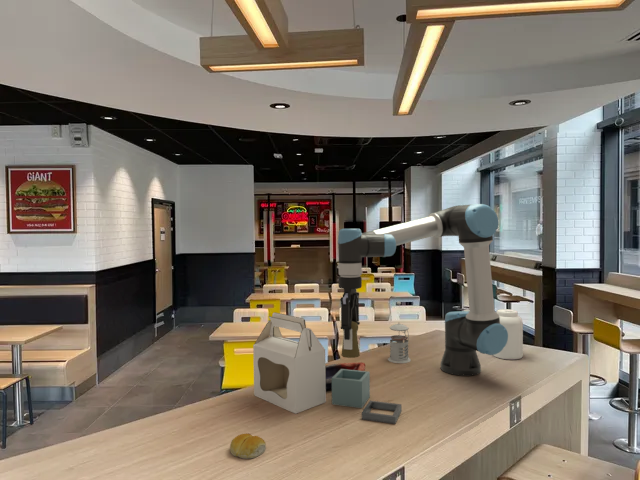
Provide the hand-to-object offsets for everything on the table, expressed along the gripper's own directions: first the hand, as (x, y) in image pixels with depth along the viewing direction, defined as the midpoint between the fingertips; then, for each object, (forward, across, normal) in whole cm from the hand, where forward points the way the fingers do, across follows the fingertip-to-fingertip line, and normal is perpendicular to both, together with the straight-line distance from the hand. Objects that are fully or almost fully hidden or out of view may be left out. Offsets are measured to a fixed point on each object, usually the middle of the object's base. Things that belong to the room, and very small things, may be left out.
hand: (350, 346), depth 148 cm
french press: (+18, -51, +7) cm, 55 cm away
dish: (+18, -15, -11) cm, 26 cm away
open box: (+18, 0, 0) cm, 18 cm away
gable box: (+18, +5, -20) cm, 27 cm away
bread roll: (+18, +40, -16) cm, 47 cm away
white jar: (+18, -70, +50) cm, 88 cm away
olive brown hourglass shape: (+3, 0, 0) cm, 3 cm away
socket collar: (+18, +8, +12) cm, 23 cm away
